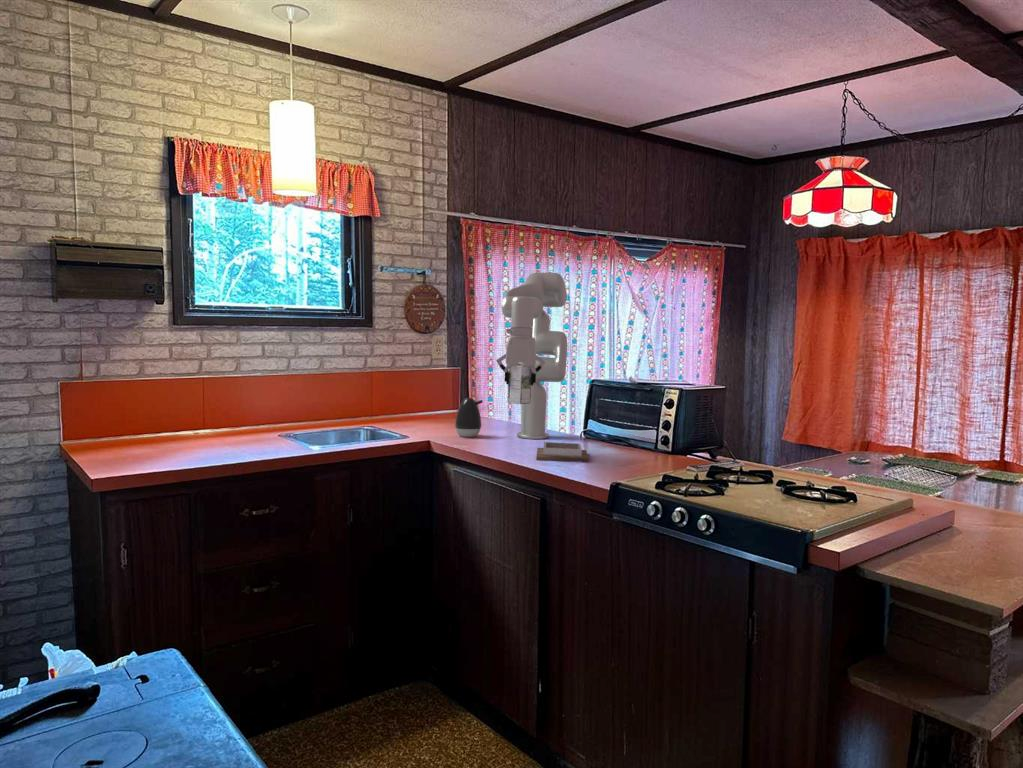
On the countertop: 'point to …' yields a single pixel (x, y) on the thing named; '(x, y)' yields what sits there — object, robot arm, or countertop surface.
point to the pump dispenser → (468, 418)
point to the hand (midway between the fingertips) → (519, 384)
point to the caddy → (562, 452)
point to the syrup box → (519, 384)
